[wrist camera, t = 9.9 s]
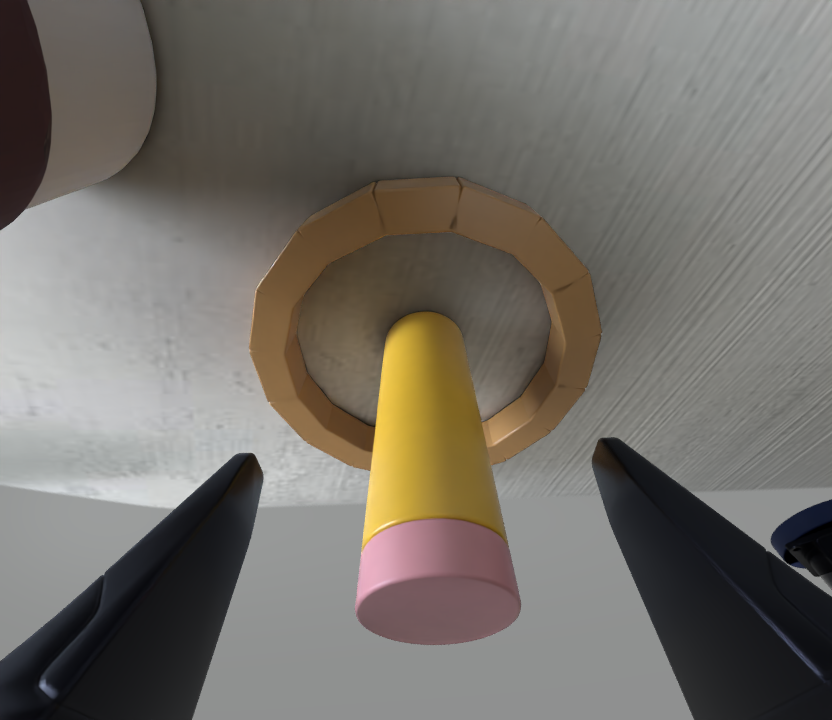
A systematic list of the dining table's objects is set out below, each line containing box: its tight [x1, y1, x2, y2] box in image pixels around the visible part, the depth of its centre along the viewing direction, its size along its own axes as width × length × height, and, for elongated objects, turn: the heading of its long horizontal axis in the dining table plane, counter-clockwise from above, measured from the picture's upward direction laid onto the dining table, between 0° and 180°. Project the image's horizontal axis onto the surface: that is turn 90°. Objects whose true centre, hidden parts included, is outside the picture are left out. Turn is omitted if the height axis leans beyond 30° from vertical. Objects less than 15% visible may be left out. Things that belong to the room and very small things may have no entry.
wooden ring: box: [249, 176, 602, 471], centre depth 13 cm, size 12×12×2 cm
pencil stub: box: [355, 312, 521, 645], centre depth 10 cm, size 3×3×9 cm
